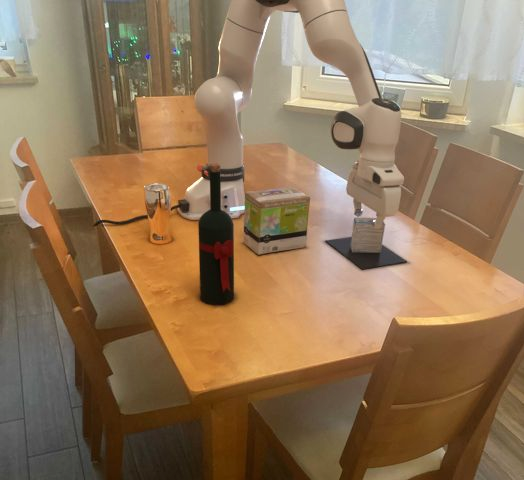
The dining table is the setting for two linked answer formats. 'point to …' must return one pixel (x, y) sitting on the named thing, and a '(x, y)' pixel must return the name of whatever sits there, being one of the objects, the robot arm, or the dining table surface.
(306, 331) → the dining table surface
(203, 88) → the robot arm
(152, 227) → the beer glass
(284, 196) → the tea box
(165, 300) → the dining table surface
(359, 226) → the medicine box
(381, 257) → the felt mat
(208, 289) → the wine bottle
